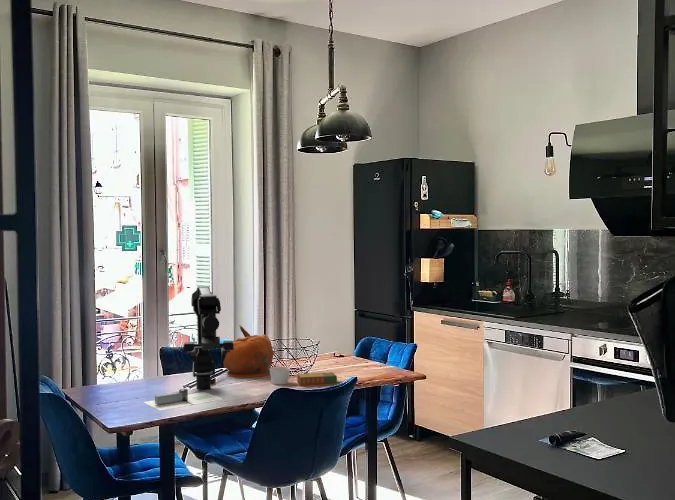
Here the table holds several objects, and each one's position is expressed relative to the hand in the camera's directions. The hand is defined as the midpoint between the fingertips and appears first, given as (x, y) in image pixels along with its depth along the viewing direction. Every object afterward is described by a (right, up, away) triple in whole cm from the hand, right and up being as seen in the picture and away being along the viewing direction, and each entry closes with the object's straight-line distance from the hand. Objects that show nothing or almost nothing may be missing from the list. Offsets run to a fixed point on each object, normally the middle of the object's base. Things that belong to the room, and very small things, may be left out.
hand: (209, 368), depth 260 cm
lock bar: (-14, -12, -2) cm, 19 cm away
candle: (+24, -13, +35) cm, 44 cm away
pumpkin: (+8, -12, +57) cm, 59 cm away
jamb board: (-10, -14, +1) cm, 17 cm away
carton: (+40, -13, +33) cm, 54 cm away
